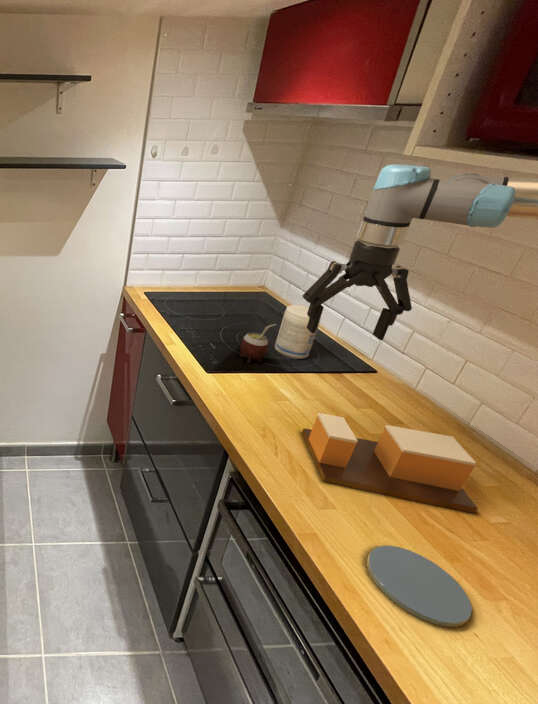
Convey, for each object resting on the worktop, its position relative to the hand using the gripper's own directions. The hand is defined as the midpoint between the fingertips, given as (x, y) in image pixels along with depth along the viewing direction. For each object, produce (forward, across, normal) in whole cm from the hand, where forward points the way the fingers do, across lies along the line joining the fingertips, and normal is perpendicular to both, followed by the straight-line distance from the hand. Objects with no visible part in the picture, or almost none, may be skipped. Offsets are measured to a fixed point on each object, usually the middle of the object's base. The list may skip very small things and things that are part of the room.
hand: (343, 333), depth 101 cm
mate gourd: (+26, +6, -30) cm, 39 cm away
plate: (+25, 0, +42) cm, 49 cm away
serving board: (+25, -9, +14) cm, 30 cm away
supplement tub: (+26, -8, -38) cm, 46 cm away
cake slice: (+24, +2, +13) cm, 27 cm away
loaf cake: (+24, -15, +14) cm, 31 cm away
